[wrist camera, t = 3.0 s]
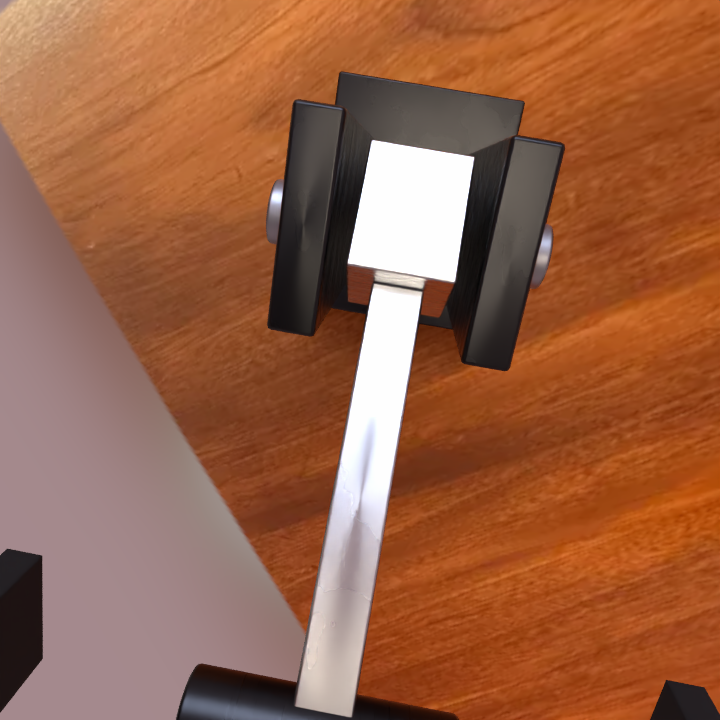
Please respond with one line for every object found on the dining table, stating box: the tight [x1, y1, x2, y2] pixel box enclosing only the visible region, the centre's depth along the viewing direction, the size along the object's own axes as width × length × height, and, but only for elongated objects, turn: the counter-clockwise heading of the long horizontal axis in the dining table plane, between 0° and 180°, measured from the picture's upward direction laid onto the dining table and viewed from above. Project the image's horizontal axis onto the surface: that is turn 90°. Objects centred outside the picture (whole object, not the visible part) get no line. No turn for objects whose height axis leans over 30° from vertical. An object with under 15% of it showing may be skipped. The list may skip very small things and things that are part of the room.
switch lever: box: [176, 140, 476, 720], centre depth 12 cm, size 12×5×2 cm
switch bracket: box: [266, 72, 565, 371], centre depth 18 cm, size 9×7×14 cm
